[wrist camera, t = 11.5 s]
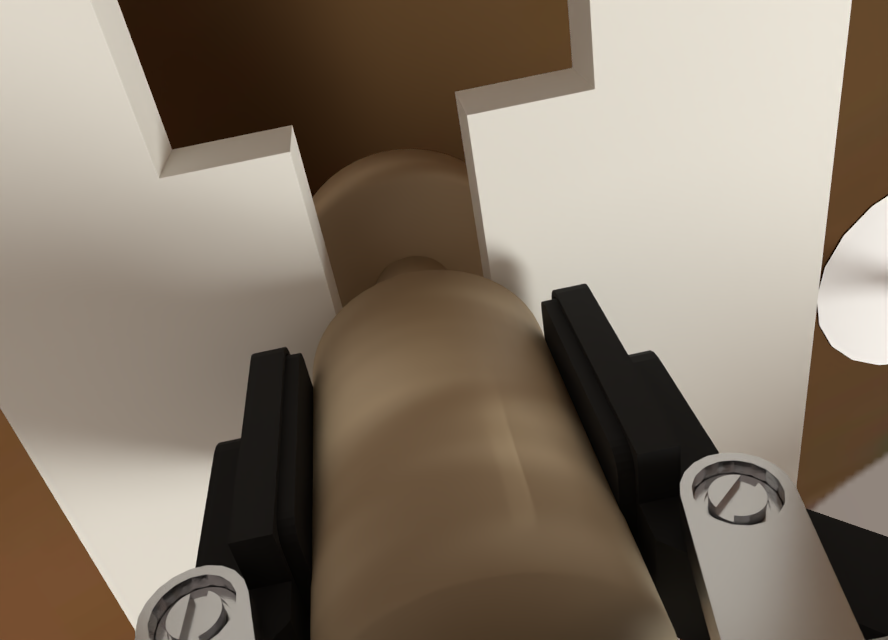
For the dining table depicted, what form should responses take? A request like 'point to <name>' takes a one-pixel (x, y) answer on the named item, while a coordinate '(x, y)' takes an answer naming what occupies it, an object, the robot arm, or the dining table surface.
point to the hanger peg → (451, 439)
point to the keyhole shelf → (309, 270)
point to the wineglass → (858, 290)
